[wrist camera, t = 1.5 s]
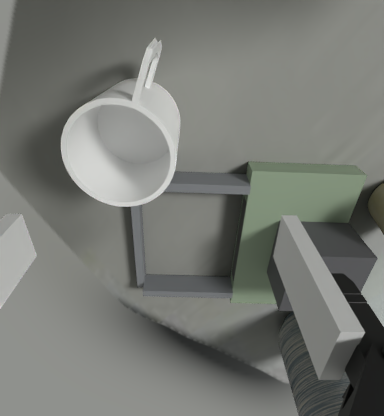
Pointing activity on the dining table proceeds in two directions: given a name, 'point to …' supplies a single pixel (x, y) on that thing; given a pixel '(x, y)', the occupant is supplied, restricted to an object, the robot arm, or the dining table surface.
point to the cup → (125, 139)
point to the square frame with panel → (269, 229)
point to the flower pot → (377, 206)
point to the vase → (308, 375)
